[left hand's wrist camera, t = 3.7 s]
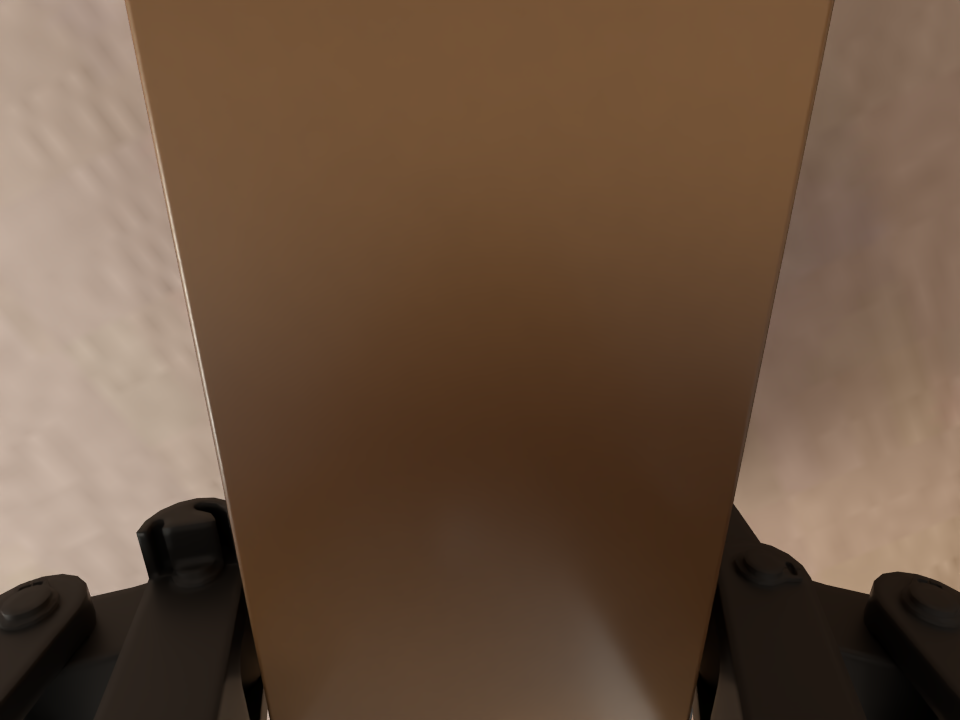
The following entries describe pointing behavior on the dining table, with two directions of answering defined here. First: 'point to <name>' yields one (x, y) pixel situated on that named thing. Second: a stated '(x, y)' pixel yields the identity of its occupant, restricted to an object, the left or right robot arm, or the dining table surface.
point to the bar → (479, 329)
